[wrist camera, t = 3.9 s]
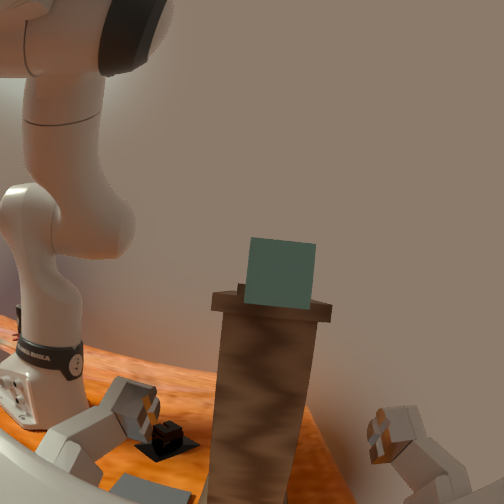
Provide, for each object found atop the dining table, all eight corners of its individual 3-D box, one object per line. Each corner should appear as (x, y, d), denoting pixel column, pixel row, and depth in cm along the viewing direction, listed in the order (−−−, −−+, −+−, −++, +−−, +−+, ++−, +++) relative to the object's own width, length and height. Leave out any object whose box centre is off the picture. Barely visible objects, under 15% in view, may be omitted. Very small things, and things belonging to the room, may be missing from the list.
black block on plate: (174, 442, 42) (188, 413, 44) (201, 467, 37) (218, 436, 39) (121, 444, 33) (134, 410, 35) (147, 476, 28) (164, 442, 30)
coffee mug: (18, 332, 68) (18, 303, 69) (39, 336, 73) (40, 307, 74) (11, 341, 59) (11, 308, 60) (35, 345, 64) (36, 313, 65)
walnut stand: (196, 516, 21) (214, 280, 24) (215, 459, 34) (233, 283, 38) (285, 526, 20) (333, 293, 23) (281, 466, 34) (309, 291, 37)
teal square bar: (243, 302, 15) (251, 237, 15) (256, 293, 37) (259, 266, 37) (309, 309, 15) (316, 243, 15) (284, 296, 37) (286, 269, 37)
